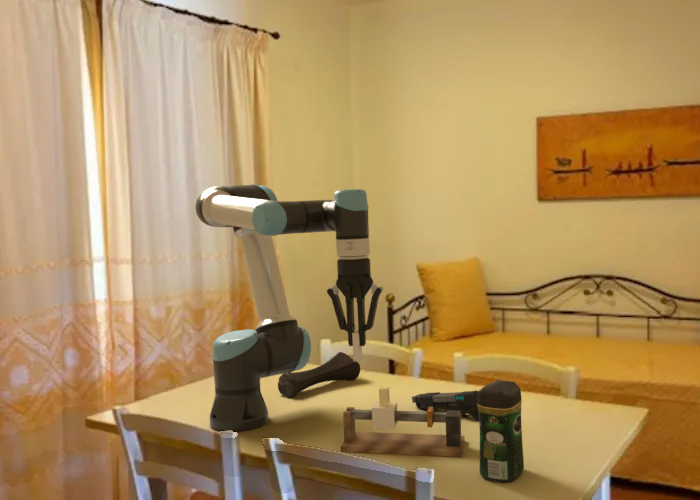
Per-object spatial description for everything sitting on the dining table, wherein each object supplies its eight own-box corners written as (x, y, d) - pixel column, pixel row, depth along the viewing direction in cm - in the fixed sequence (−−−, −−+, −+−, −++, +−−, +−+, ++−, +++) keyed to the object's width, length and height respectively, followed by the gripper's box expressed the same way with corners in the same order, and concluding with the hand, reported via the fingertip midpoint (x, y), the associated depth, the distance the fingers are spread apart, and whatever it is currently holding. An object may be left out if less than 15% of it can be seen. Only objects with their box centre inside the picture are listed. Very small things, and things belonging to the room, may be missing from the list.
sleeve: (372, 428, 153) (371, 390, 153) (376, 422, 158) (375, 384, 157) (394, 429, 152) (393, 391, 151) (397, 422, 157) (396, 385, 156)
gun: (480, 422, 167) (468, 383, 169) (421, 434, 181) (409, 397, 182) (490, 418, 171) (477, 379, 172) (431, 429, 184) (420, 393, 186)
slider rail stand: (340, 451, 153) (339, 413, 152) (350, 436, 162) (349, 400, 162) (461, 457, 146) (460, 417, 146) (464, 440, 156) (463, 403, 155)
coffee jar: (491, 462, 143) (489, 375, 142) (528, 469, 138) (526, 379, 137) (473, 478, 135) (471, 387, 133) (512, 486, 130) (510, 391, 129)
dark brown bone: (350, 383, 219) (284, 414, 200) (335, 353, 222) (269, 381, 202) (369, 372, 212) (303, 403, 192) (354, 341, 214) (287, 369, 195)
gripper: (321, 259, 152) (326, 363, 153) (378, 258, 149) (382, 364, 150) (330, 257, 159) (334, 356, 160) (384, 255, 156) (388, 356, 157)
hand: (357, 359), depth 155 cm, fingers closed
